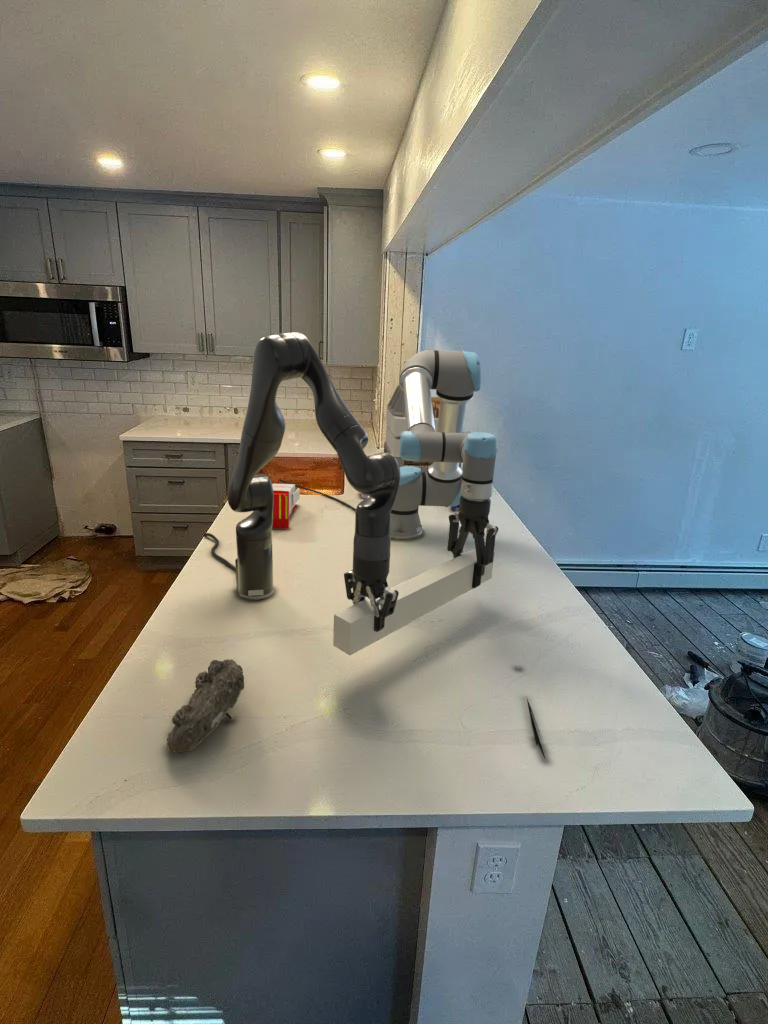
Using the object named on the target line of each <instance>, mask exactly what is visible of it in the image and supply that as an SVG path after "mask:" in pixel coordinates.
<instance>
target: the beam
mask: <svg viewBox="0 0 768 1024" xmlns="http://www.w3.org/2000/svg"><path fill="white" fill-rule="evenodd" d="M461 554H462V555H460V556H458V557H456V558H454V559H453V558H451V559H450V560H447V561H445V562H443V563H441V564H438V565H437V566H434V567H432V568H430V569H428V570H425V571H423V572H421V573H419V574H417V575H415V576H412V577H411V578H409V579H406V580H404V581H402V582H400V583H397V584H396V585H393V586H391V587H389V588H390V589H391V590H392V591H394V590H397V591H398V593H399V595H398V598H397V602H396V605H395V609H394V613H393V614H391V615H389V616H387V617H385V626H384V628H383V629H382V630H380V631H378V632H376V631H374V616H375V613H374V608H373V606H371V603H370V599H369V598H368V597H366V598H365V600H363V601H361V602H359V603H357V604H353V605H350V606H347V607H346V608H343V609H341V610H340V611H337V612H335V613H333V646H334V647H335V648H336V649H338V650H340V651H341V652H343V653H345V654H346V655H348V656H352V655H354V654H356V653H358V652H359V651H361V650H363V649H365V648H367V647H369V646H370V645H372V644H374V643H376V642H378V641H380V640H381V639H383V638H385V637H387V636H388V635H391V634H392V633H395V632H396V631H397V630H399V629H401V628H403V627H405V626H407V625H408V624H411V623H413V622H414V621H417V620H418V619H420V618H422V617H423V616H425V615H427V614H429V613H431V612H433V611H435V610H436V609H438V608H439V607H442V606H443V605H446V604H447V603H449V602H451V601H453V600H454V599H456V598H459V597H460V596H462V595H464V594H466V593H467V592H469V591H471V590H473V589H474V588H472V581H473V572H474V564H476V563H477V557H476V549H475V548H473V549H471V550H468V551H467V552H465V553H464V552H463V553H461ZM494 555H495V552H494ZM494 561H495V556H494V557H493V562H492V563H490V564H488V565H485V571H484V575H483V576H481V584H480V585H482V584H484V583H486V582H487V581H489V580H491V579H492V577H493V570H494V563H495V562H494ZM379 599H380V597H379V598H377V599H375V600H376V601H377V600H379ZM380 609H381V607H380V605H379V610H380Z"/></svg>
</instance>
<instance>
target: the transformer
mask: <svg viewBox="0 0 768 1024" xmlns="http://www.w3.org/2000/svg"><path fill="white" fill-rule="evenodd" d="M431 401H432V409H433V416H434V424H435V431H436V432H437V424H438V415H439V406H440V398H439V397H438V396H431ZM385 414H386V415H385V423H386V428H385V438H384V442H383V453H389V454H391V455H393V456H394V457H395V459H396V460H397V462H398V464H399V467H404V466H413V467H429V466H430V465H431V464H433V462H414V461H407V460H402V459H401V457H400V436H401V433H402V432H404V431H407V430H406V415H405V401H404V392H403V391H402V389H401V387H400V384H398V385H397V386H396V388H395V390H394V392H393V394H392V395H391V398H390V400H389V402H388V404H387V405H386V413H385ZM464 431H465V430H463V432H464ZM459 467H460V468H461V469H462V463H459Z"/></svg>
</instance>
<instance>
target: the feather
mask: <svg viewBox="0 0 768 1024" xmlns="http://www.w3.org/2000/svg"><path fill="white" fill-rule="evenodd" d="M517 669H519V666H518V667H517ZM526 701H527V708H528V711H529V718H530V723H531V728H532V732H533V736H534V741H535V745H536V746H537V745H538V747H539V749H540V751H541V754H542V756H543V758H544V759H546V757H545V756H546V755H545V753H544V749H543V746H542V743H541V740H540V739H541V738H542V735H541V730H540V727H539V726H538V723H537V720H536V718H535V714H534V711H533V710H532V707H531V704H530V702H529V699H528V697H527V696H526ZM539 736H540V737H539ZM546 752H548V750H546ZM548 753H549V752H548Z"/></svg>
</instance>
